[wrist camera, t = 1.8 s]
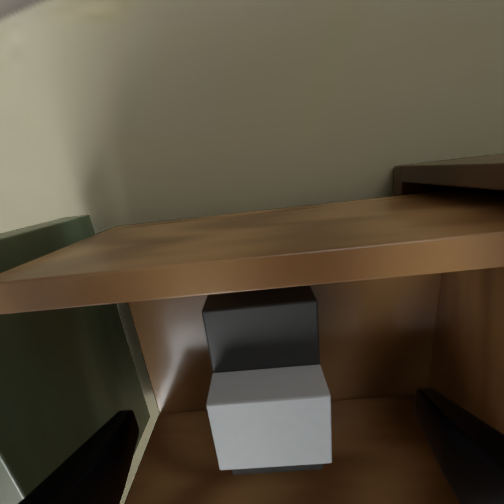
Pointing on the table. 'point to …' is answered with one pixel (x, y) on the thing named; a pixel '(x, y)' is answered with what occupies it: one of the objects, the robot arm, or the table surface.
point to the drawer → (197, 353)
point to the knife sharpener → (267, 381)
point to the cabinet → (451, 175)
